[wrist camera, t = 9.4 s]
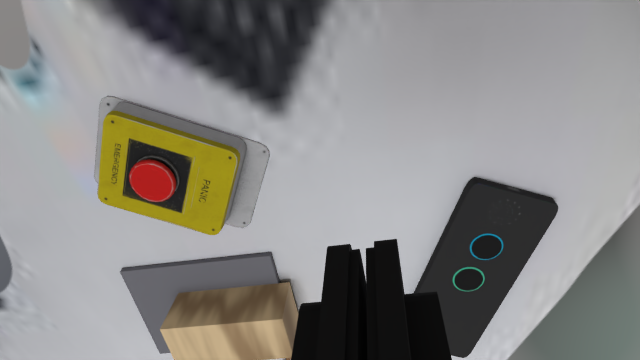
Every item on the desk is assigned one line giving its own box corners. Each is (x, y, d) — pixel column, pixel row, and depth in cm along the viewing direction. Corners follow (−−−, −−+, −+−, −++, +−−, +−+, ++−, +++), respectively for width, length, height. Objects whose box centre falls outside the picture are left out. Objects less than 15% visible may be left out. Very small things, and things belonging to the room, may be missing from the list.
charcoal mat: (271, 251, 44) (270, 255, 44) (296, 338, 50) (295, 343, 49) (122, 268, 47) (119, 271, 46) (162, 349, 52) (160, 353, 52)
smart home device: (564, 206, 38) (468, 360, 48) (556, 196, 40) (465, 347, 49) (472, 181, 38) (393, 342, 47) (467, 172, 39) (392, 329, 49)
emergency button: (75, 107, 35) (264, 166, 36) (104, 90, 38) (273, 144, 40) (70, 205, 39) (239, 254, 40) (96, 181, 43) (249, 226, 44)
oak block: (282, 319, 41) (159, 329, 43) (293, 357, 43) (177, 365, 45) (289, 282, 45) (178, 293, 47) (299, 318, 48) (193, 327, 49)
